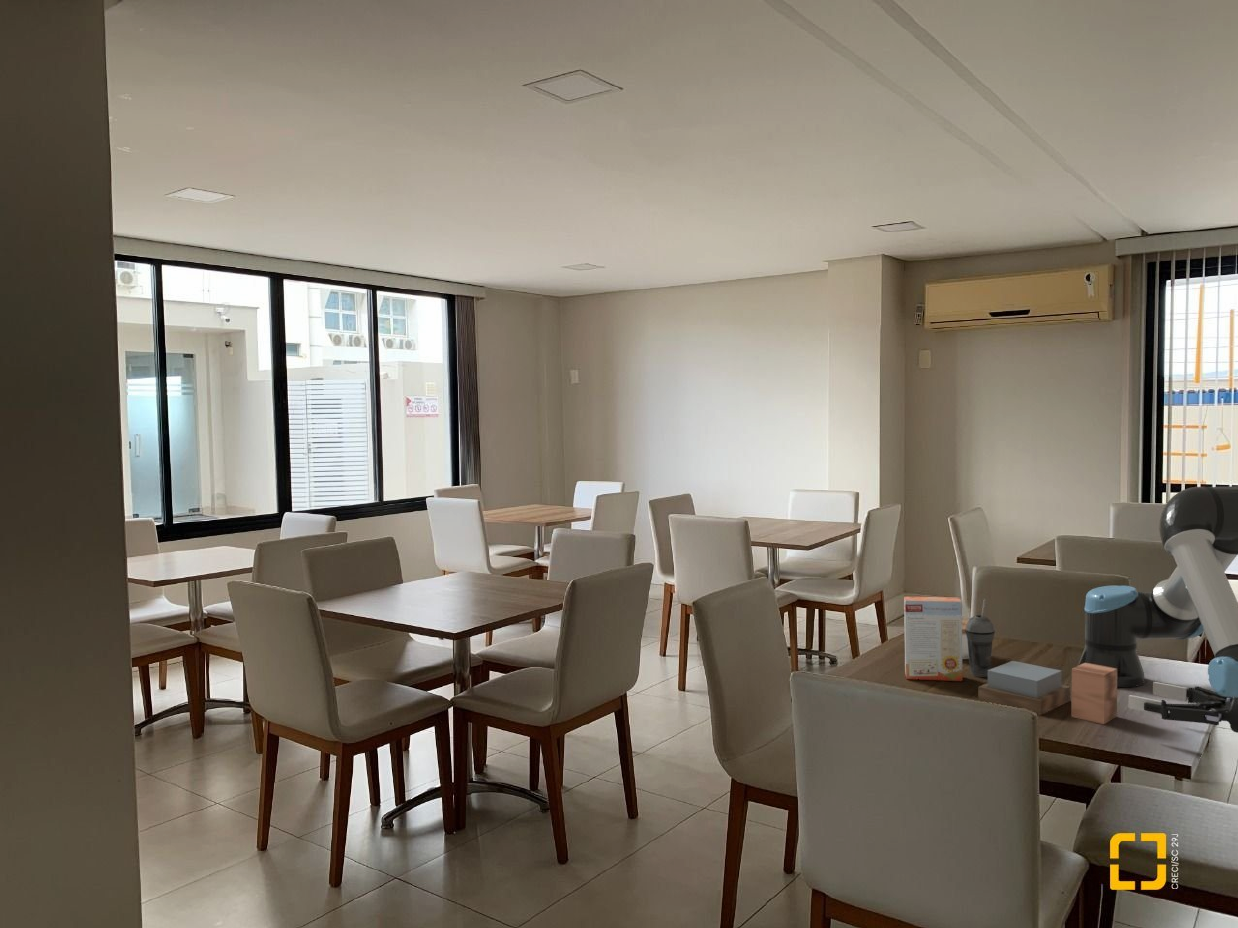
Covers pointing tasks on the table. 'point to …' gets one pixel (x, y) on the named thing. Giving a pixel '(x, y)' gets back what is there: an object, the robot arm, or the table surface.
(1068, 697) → the walnut base slab
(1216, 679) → the robot arm
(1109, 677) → the terracotta pillar block
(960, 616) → the cracker box
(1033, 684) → the slate top tile
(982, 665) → the beverage cup
